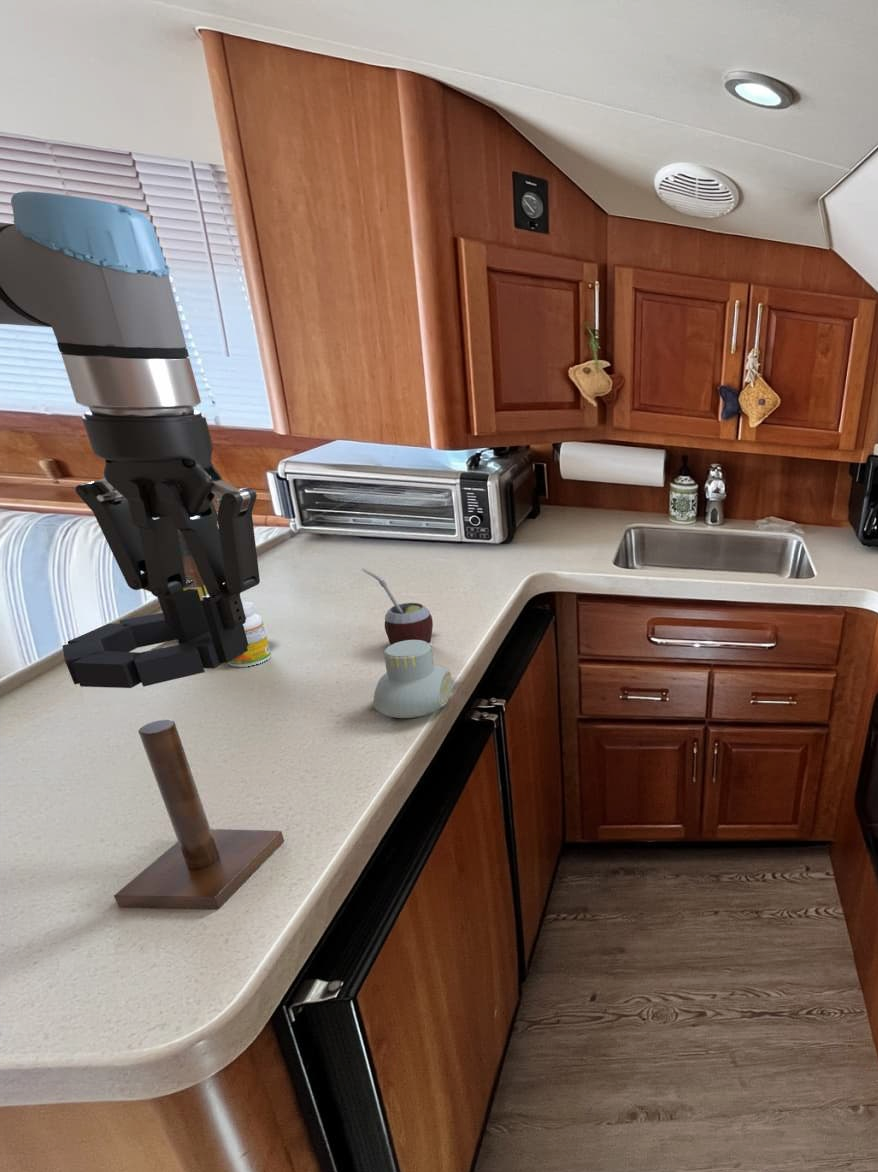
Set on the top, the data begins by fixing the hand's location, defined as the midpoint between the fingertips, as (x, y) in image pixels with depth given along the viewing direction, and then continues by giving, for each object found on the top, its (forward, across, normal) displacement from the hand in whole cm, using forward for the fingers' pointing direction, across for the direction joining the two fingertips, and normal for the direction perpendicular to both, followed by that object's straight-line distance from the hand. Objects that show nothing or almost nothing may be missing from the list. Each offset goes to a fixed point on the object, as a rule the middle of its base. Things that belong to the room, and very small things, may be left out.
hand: (216, 655), depth 62 cm
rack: (+22, +2, +6) cm, 23 cm away
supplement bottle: (+22, +28, -38) cm, 52 cm away
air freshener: (+22, -4, -26) cm, 34 cm away
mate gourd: (+22, +6, -44) cm, 49 cm away
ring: (0, +5, 0) cm, 5 cm away
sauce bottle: (+22, +39, -46) cm, 64 cm away
